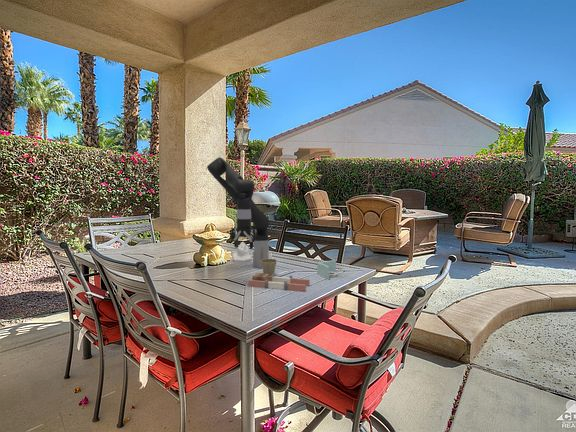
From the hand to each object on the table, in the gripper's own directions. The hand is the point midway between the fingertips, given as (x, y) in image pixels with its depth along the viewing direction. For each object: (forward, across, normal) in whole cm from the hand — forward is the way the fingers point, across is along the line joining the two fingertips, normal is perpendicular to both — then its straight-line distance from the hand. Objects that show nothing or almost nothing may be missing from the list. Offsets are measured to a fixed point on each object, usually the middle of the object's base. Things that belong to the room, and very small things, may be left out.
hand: (243, 248), depth 163 cm
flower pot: (+18, +8, +16) cm, 26 cm away
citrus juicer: (+19, -22, +43) cm, 52 cm away
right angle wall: (+18, +42, +27) cm, 53 cm away
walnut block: (+18, +10, 0) cm, 21 cm away
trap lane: (+18, +20, 0) cm, 27 cm away
